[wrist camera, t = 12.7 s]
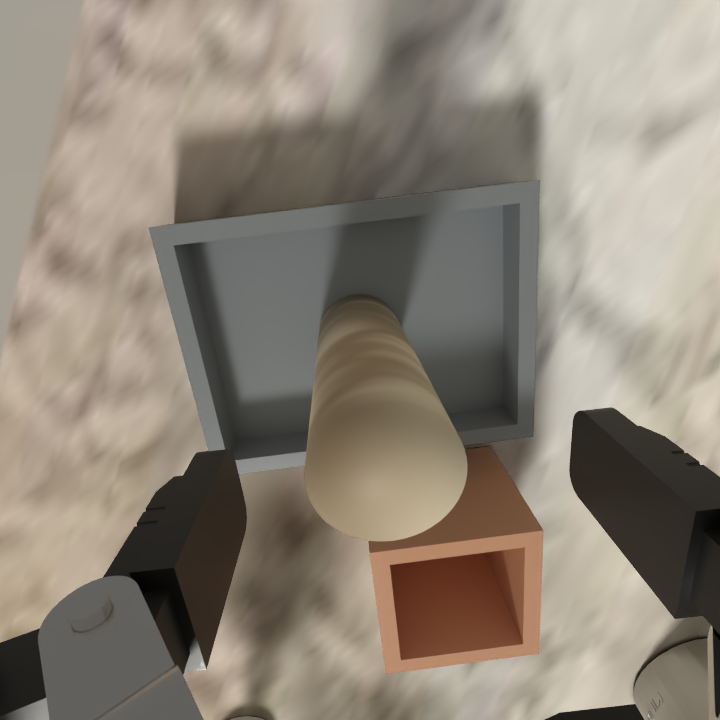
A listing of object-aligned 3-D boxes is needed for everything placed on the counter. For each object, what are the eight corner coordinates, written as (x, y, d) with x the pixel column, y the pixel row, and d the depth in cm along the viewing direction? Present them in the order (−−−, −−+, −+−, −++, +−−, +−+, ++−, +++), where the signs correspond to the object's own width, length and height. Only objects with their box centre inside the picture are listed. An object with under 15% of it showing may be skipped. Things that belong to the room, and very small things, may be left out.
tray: (512, 182, 21) (539, 180, 18) (511, 409, 25) (533, 436, 22) (173, 223, 21) (148, 227, 18) (229, 445, 25) (215, 477, 22)
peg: (396, 289, 22) (465, 391, 10) (402, 366, 23) (469, 530, 12) (313, 299, 21) (292, 413, 10) (324, 376, 23) (316, 550, 12)
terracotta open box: (490, 446, 26) (543, 530, 19) (492, 548, 29) (538, 653, 22) (360, 462, 26) (369, 553, 19) (374, 564, 29) (386, 673, 22)
